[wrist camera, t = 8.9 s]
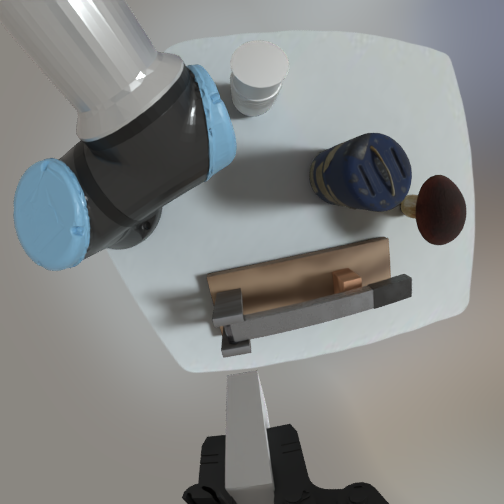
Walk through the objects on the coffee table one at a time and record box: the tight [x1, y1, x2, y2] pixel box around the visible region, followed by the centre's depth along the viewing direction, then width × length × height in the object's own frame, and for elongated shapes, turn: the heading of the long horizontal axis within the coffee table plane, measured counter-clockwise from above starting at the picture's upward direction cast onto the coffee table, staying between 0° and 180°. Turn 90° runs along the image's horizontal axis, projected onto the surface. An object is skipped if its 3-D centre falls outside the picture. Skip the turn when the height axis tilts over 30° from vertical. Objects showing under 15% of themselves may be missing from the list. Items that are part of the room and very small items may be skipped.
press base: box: [207, 237, 391, 358], centre depth 43 cm, size 12×32×12 cm, turn 101°
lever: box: [224, 274, 412, 344], centre depth 39 cm, size 4×29×2 cm, turn 101°
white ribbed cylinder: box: [230, 40, 289, 117], centre depth 34 cm, size 7×7×15 cm
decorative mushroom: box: [401, 175, 466, 245], centre depth 39 cm, size 11×11×15 cm
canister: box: [310, 133, 412, 212], centre depth 36 cm, size 10×10×18 cm
